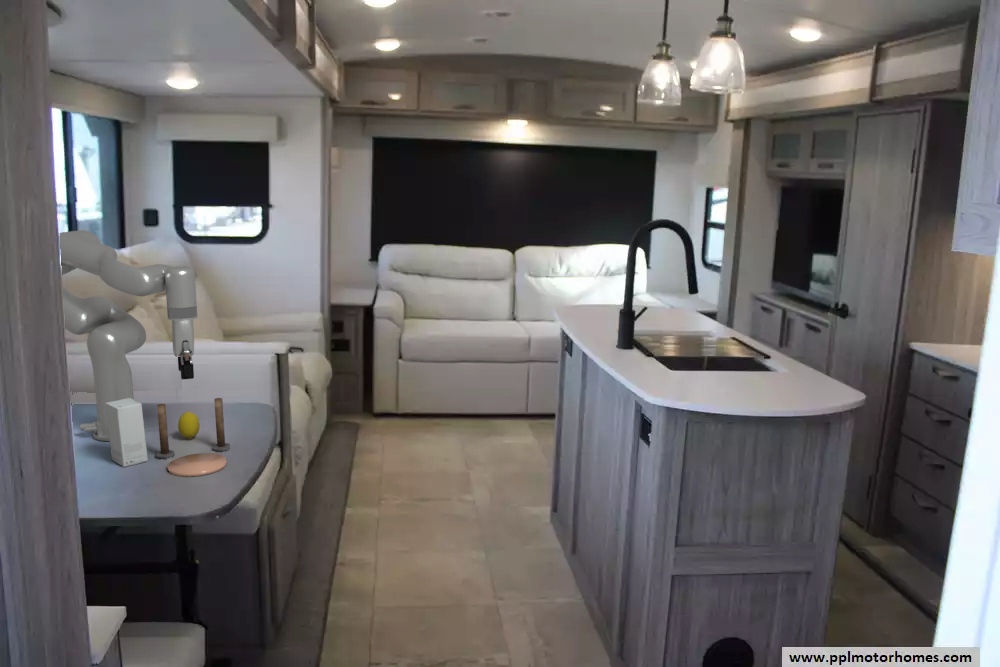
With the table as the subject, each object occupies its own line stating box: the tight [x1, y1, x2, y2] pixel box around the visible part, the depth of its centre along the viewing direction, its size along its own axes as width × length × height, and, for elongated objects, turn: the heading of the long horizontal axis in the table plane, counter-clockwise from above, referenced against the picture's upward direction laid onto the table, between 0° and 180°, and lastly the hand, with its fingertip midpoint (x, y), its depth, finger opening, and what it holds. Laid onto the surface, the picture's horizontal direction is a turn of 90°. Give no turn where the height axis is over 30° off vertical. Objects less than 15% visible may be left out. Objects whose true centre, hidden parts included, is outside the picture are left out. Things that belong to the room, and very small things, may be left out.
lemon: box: [177, 410, 201, 440], centre depth 227 cm, size 6×6×8 cm
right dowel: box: [212, 397, 231, 453], centre depth 219 cm, size 4×4×14 cm
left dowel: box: [155, 403, 175, 460], centre depth 213 cm, size 4×4×14 cm
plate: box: [167, 452, 228, 478], centre depth 207 cm, size 14×14×1 cm
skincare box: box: [105, 398, 149, 468], centre depth 209 cm, size 8×7×16 cm
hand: (186, 374), depth 224 cm, fingers open, 9 cm apart
